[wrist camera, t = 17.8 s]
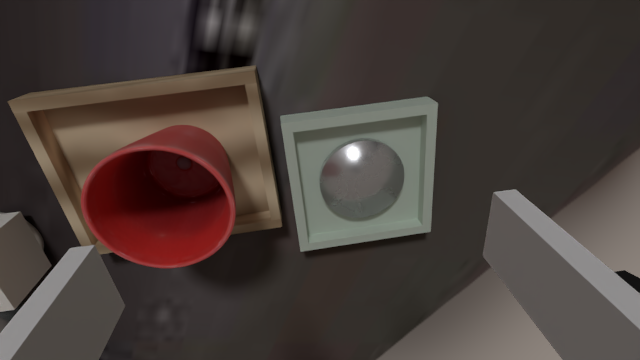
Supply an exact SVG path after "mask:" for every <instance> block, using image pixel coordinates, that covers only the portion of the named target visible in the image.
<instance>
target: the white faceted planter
mask: <svg viewBox="0 0 640 360" xmlns="http://www.w3.org/2000/svg"><path fill="white" fill-rule="evenodd" d="M51 266H52V265H51V264H50V262H49V260H48V258H47V257H46V255H45V253H44V241H43V238H42V236H41V234H40V233H39V231H38V230H37V229H36V228H35V227H34V226H33V225H32V224H30V223H29V222H28V221H26V220H25V219H24V217H23V215H22V213H21V212H13V213H4V212H0V312H2V311H9V310H15V309H16V308H17V306H18V305H19V304H20V303H21V302H22V300H23V299H24V298H25V297H26V296H27V294H28V293H29V292H30V291H31V290H32V288H33V287H34V286H35V285H36V284H37V282H38V281H39V280H40V279H41V278H42V276H43V275H44V274H45V273H46V272H47V270H48V269H49V268H50V267H51Z"/></svg>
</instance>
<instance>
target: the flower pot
mask: <svg viewBox="0 0 640 360" xmlns="http://www.w3.org/2000/svg"><path fill="white" fill-rule="evenodd" d="M81 209H82V213H83V216H84V219H85V221H86V223H87V225H88V227H89V229H90V230H91V232H92V233H93V234H94V236H95V237H96V238H97V239H98V240H99V241H100V242H101V243H102V244H103V245H104V246H105V247H107V248H108V249H109V250H111V251H112V252H114V253H115V254H117V255H119V256H120V257H122V258H124V259H126V260H129V261H131V262H134V263H137V264H141V265H144V266H149V267H155V268H179V267H184V266H189V265H192V264H195V263H198V262H200V261H202V260H204V259H206V258H208V257H210V256H211V255H213V254H214V253H216V252H217V251H218V250H219V249H220V248H221V247H222V246H223V245H224V244H225V242H226V241H227V240H228V238H229V237H230V235H231V233H232V230H233V228H234V224H235V219H236V200H235V192H234V186H233V180H232V174H231V170H230V166H229V162H228V158H227V154H226V152H225V150H224V148H223V146H222V145H221V143H220V142H219V141H218V140H217V139H216V138H215V137H214V136H213V135H212V134H210V133H209V132H207V131H205V130H203V129H201V128H198V127H195V126H191V125H174V126H170V127H167V128H165V129H162V130H160V131H158V132H155V133H153V134H151V135H148V136H146V137H144V138H142V139H139V140H137V141H135V142H133V143H131V144H129V145H127V146H125V147H122V148H120V149H119V150H117V151H115V152H113V153H111V154H110V155H108V156H107V157H105V158H104V159H102V160H101V161H100V162H99V163H98V164H97V165H96V166H95V167H94V168H93V169H92V170H91V172H90V173H89V175H88V176H87V178H86V180H85V183H84V185H83V188H82V194H81Z"/></svg>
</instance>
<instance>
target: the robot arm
mask: <svg viewBox="0 0 640 360" xmlns="http://www.w3.org/2000/svg"><path fill="white" fill-rule="evenodd" d="M483 257H484V258H485V259H486V261H487V262H488V263H489V265H490V266H491V267H492V268H493V270H494V271H495V272H496V273H497V275H498V276H499V278H500V279H501V280H502V281H503V283H504V284H505V285H506V287H507V288H508V289H509V291H510V292H511V293H512V294H513V296H514V297H515V298H516V300H517V301H518V302H519V304H520V305H521V306H522V307H523V309H524V310H525V311H526V312H527V314H528V315H529V316H530V318H531V319H532V320H533V322H534V323H535V324H536V326H537V327H538V328H539V330H540V331H541V332H542V333H543V335H544V336H545V337H546V339H547V340H548V341H549V342H550V344H551V345H552V346H553V348H554V349H555V350H556V351H557V353H558V354H559V355H560V357H561V358H562V359H563V360H640V278H638V277H636V276H634V275H632V274H630V273H628V272H626V271H617V272H613V271H612V270H611V269H610V268H609V267H608V266H606V265H605V264H604V263H603V262H601V261H600V260H599V259H598V258H597V257H596V256H594V255H593V254H592V253H591V252H590V251H588V250H587V249H586V248H585V247H584V246H582V245H581V244H580V243H579V242H578V241H576V240H575V239H574V238H573V237H572V236H570V235H569V234H568V233H567V232H566V231H565V230H563V229H562V228H561V227H560V226H559V225H557V224H556V223H555V222H554V221H553V220H551V219H550V218H549V217H548V216H547V215H545V214H544V213H543V212H542V211H541V210H539V209H538V208H537V207H536V206H535V205H533V204H532V203H531V202H530V201H529V200H527V199H526V198H525V197H524V196H523V195H521V194H520V193H519V192H518V191H517V190H515V189H514V190H507V191H499V192H493V197H492V203H491V209H490V215H489V221H488V227H487V233H486V239H485V245H484V251H483ZM124 307H125V305H124V303H123V301H122V299H121V297H120V295H119V293H118V291H117V289H116V286H115V284H114V282H113V280H112V278H111V276H110V274H109V272H108V270H107V268H106V266H105V264H104V262H103V260H102V258H101V256H100V254H99V252H98V250H97V248H96V246H95V245H90V246H82V247H75V248H70V249H69V250H68V251H67V253H66V254H65V255H64V256H63V258H62V259H61V260H60V261H59V262H58V264H57V265H56V266H55V267H54V268H53V270H52V271H51V272H50V273H49V275H48V276H47V277H46V278H45V279H44V281H43V282H42V283H41V284H40V286H39V287H38V288H37V289H36V290H35V292H34V293H33V294H32V295H31V296H30V298H29V299H28V300H27V301H26V303H25V304H24V305H23V306H22V307H21V309H20V310H19V311H18V312H17V314H16V315H15V316H14V317H13V318H12V320H11V321H10V322H9V323H8V324H7V326H6V327H5V328H4V329H3V331H2V332H1V333H0V360H99V358H100V356H101V354H102V352H103V350H104V348H105V346H106V344H107V342H108V340H109V338H110V336H111V334H112V332H113V329H114V327H115V325H116V323H117V321H118V319H119V317H120V315H121V313H122V311H123V309H124Z"/></svg>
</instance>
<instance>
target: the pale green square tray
mask: <svg viewBox="0 0 640 360" xmlns="http://www.w3.org/2000/svg"><path fill="white" fill-rule="evenodd" d="M437 109H438V103H437V102H436V101H434V100H432V99H431V98H429V97H421V98H413V99H406V100H398V101H390V102H383V103H375V104H367V105H360V106H352V107H345V108H337V109H329V110H322V111H314V112H306V113H299V114H291V115H283V116H280V119H281V128H282V134H283V141H284V147H285V154H286V160H287V167H288V173H289V179H290V186H291V192H292V199H293V205H294V212H295V218H296V225H297V231H298V237H299V244H300V250H301V252H303V251H309V250H315V249H322V248H328V247H335V246H341V245H348V244H354V243H361V242H367V241H374V240H380V239H386V238H393V237H399V236H406V235H412V234H419V233H425V232H431V216H432V198H433V180H434V162H435V145H436V127H437ZM359 138H371V139H376V140H379V141H382V142H384V143H386V144H387V145H389V146H390V147H391V148H392V149H393V150H394V151H395V152H396V153H397V155H398V156H399V157H400V159H401V161H402V164H403V167H404V175H405V176H404V183H403V187H402V189H401V191H400V193H399V195H398V197H397V198H396V199H395V201H394V202H393V203H392V204H391V205H390V206H389V207H387V208H386V209H384V210H383V211H381V212H379V213H377V214H375V215H372V216H368V217H362V218H353V217H347V216H344V215H341V214H339V213H337V212H335V211H334V210H333V209H331V208H330V207H329V206H328V205H327V203H326V202H325V200H324V198H323V196H322V193H321V190H320V185H319V175H320V171H321V167H322V165H323V163H324V161H325V159H326V158H327V157H328V155H329V154H330V153H331V152H332V151H333V150H334V149H336V148H337V147H338V146H340V145H342V144H343V143H345V142H348V141H351V140H354V139H359Z"/></svg>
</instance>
